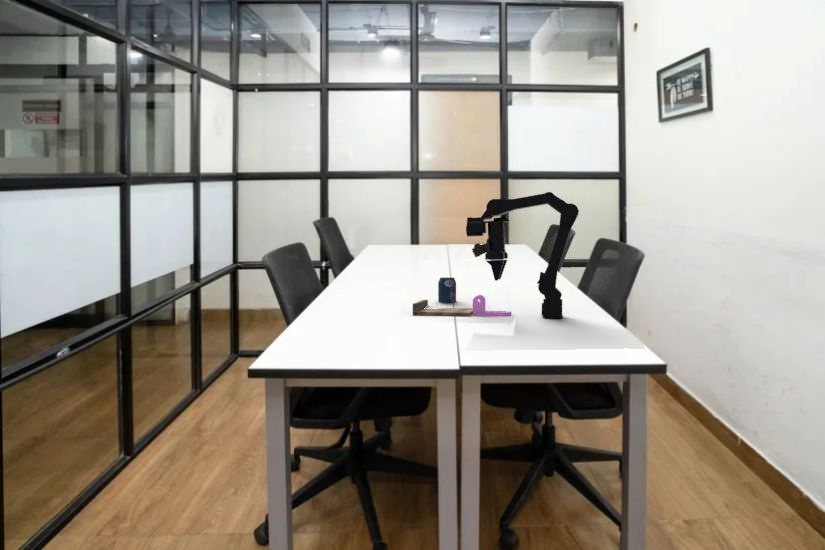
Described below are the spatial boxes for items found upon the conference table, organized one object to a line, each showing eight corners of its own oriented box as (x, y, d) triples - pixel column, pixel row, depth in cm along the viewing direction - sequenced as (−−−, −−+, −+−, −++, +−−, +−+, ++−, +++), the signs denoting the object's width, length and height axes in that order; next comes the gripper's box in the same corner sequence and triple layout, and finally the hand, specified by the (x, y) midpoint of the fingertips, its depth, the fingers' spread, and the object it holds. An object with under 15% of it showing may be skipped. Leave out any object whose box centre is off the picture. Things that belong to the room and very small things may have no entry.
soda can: (455, 309, 222) (455, 278, 221) (437, 309, 223) (437, 278, 222) (456, 307, 229) (456, 277, 228) (439, 307, 230) (439, 277, 229)
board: (476, 311, 215) (476, 300, 215) (469, 316, 197) (469, 304, 197) (423, 310, 220) (423, 299, 220) (412, 315, 202) (412, 303, 202)
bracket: (472, 315, 200) (472, 295, 200) (474, 314, 206) (474, 294, 206) (510, 316, 197) (510, 296, 197) (511, 315, 203) (511, 295, 203)
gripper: (476, 237, 214) (478, 279, 215) (469, 235, 196) (471, 281, 197) (507, 235, 212) (508, 278, 212) (502, 234, 193) (504, 280, 194)
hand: (497, 279), depth 204 cm, fingers open, 9 cm apart
